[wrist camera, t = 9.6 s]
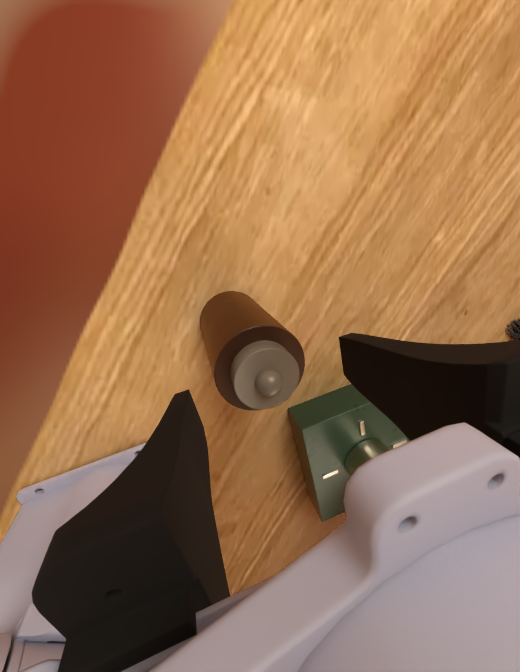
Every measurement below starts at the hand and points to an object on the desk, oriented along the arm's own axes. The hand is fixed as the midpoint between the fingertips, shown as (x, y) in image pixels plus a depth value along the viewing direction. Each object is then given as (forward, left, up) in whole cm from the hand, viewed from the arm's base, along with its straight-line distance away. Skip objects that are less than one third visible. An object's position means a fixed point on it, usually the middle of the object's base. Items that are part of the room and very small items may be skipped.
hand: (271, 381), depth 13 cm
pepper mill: (0, 0, -9) cm, 9 cm away
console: (+7, -14, -9) cm, 18 cm away
